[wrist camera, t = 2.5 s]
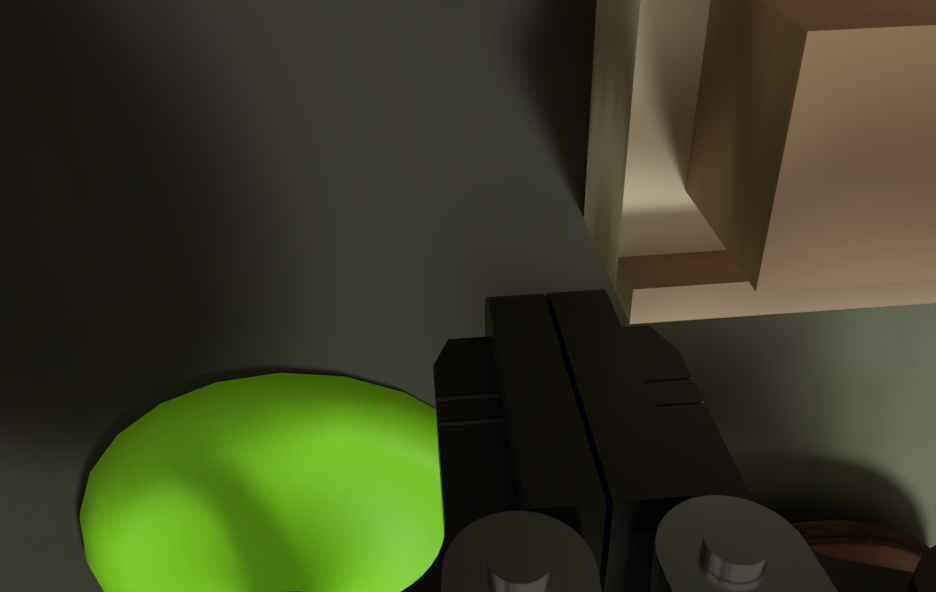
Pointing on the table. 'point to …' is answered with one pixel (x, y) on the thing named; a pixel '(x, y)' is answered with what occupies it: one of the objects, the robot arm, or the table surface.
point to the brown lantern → (863, 543)
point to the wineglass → (269, 491)
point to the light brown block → (819, 140)
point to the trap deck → (673, 180)
